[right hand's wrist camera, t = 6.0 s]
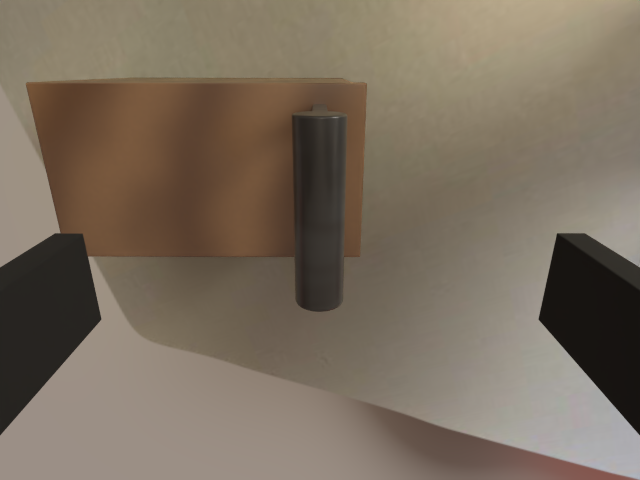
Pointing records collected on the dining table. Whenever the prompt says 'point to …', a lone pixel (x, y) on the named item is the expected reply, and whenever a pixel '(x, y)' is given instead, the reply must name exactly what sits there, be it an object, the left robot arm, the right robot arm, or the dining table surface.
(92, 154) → the lid
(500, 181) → the dining table surface
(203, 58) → the dining table surface
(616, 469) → the dining table surface
